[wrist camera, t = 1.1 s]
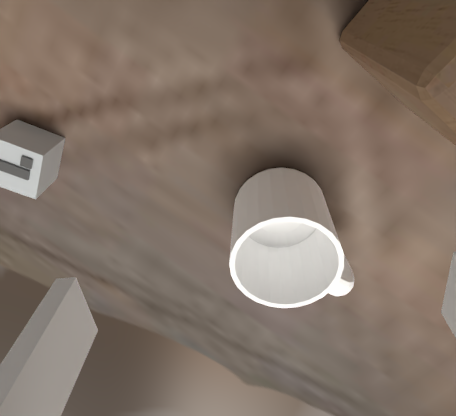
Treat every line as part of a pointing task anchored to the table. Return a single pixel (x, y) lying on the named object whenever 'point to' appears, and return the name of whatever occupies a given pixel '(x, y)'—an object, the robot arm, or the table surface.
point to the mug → (286, 241)
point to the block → (410, 55)
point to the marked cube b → (29, 158)
